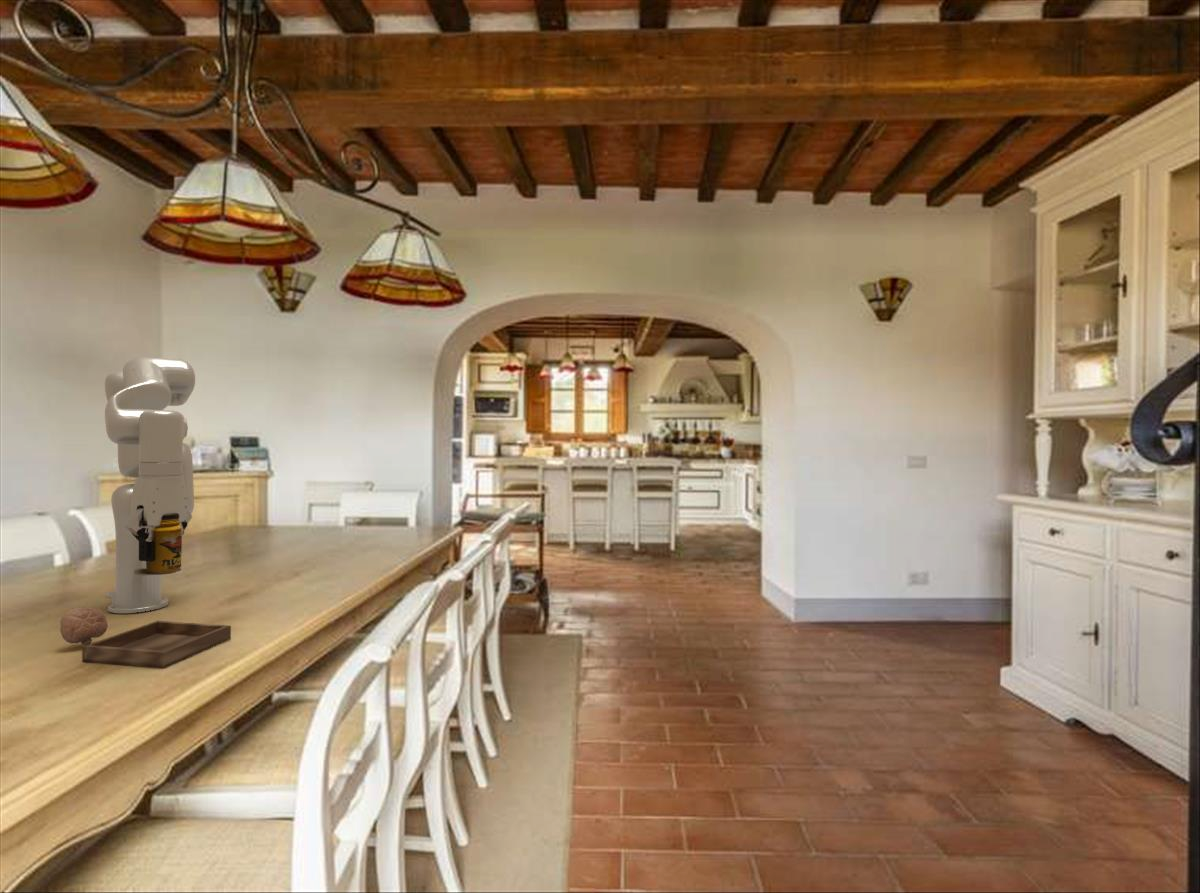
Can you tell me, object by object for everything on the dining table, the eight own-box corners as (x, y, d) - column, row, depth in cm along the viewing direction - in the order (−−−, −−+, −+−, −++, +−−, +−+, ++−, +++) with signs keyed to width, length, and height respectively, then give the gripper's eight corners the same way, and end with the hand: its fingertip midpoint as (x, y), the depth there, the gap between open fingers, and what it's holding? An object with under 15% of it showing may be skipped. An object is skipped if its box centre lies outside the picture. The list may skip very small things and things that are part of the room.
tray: (82, 661, 128) (82, 646, 128) (157, 634, 146) (157, 620, 146) (164, 668, 125) (164, 652, 125) (230, 639, 143) (230, 625, 143)
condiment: (183, 573, 134) (183, 515, 134) (132, 577, 130) (132, 517, 129) (183, 566, 140) (183, 510, 140) (134, 570, 136) (134, 512, 136)
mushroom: (110, 639, 142) (110, 602, 142) (103, 648, 136) (103, 609, 136) (65, 644, 138) (65, 606, 138) (57, 653, 133) (57, 613, 133)
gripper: (177, 467, 144) (177, 549, 145) (107, 472, 127) (107, 565, 127) (208, 468, 143) (208, 551, 143) (141, 473, 126) (141, 567, 126)
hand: (160, 556), depth 135 cm, fingers closed on condiment, 6 cm apart
